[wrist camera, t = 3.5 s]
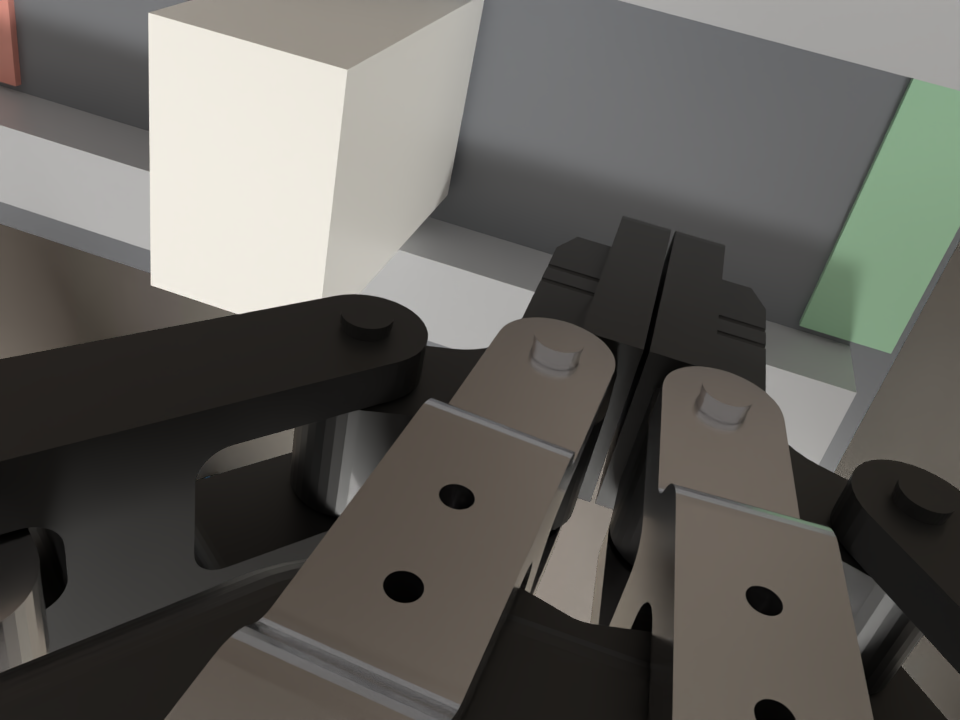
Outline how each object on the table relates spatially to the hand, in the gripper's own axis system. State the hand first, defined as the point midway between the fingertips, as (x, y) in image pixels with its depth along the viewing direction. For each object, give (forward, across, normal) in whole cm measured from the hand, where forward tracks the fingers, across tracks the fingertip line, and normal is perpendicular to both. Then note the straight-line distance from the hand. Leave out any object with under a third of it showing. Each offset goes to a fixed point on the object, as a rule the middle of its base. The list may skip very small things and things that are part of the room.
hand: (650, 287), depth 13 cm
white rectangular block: (+6, +6, 0) cm, 9 cm away
